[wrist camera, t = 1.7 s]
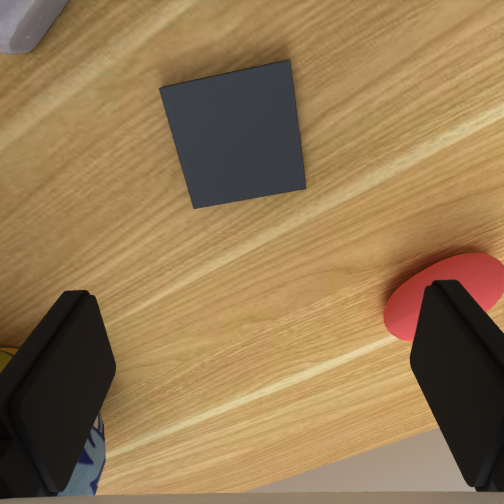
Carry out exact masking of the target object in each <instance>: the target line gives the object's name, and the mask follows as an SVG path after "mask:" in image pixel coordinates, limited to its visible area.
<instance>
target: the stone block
mask: <svg viewBox="0 0 504 504" xmlns="http://www.w3.org/2000/svg"><path fill="white" fill-rule="evenodd" d="M68 1H69V0H0V52H2V53H5V54H8V55H12V54H16V53H26V52H30V51H31V50H33V49H34V48H35V46H36V45H37V44H38V42H39V41H40V40H41V39H42V38H43V36H44V35H45V33H46V32H47V31H48V29H49V28H50V26H51V25H52V23H53V22H54V21H55V19H56V18H57V16H58V15H59V14H60V12H61V11H62V9H63V8H64V7H65V5H66V4H67V2H68Z"/></svg>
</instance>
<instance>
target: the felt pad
mask: <svg viewBox="0 0 504 504" xmlns="http://www.w3.org/2000/svg"><path fill="white" fill-rule="evenodd" d="M159 90H160V94H161V97H162V101H163V104H164V107H165V111H166V114H167V118H168V121H169V125H170V128H171V132H172V135H173V139H174V142H175V146H176V149H177V153H178V156H179V159H180V163H181V166H182V170H183V173H184V177H185V180H186V184H187V187H188V191H189V194H190V198H191V201H192V205H193V208H194V209H197V208H202V207H208V206H213V205H219V204H225V203H230V202H236V201H241V200H247V199H252V198H258V197H264V196H269V195H275V194H280V193H286V192H291V191H297V190H303V189H306V180H305V172H304V165H303V157H302V149H301V141H300V133H299V126H298V118H297V110H296V102H295V94H294V87H293V79H292V71H291V63H290V60H284V61H279V62H275V63H270V64H265V65H261V66H256V67H251V68H247V69H242V70H237V71H233V72H228V73H223V74H219V75H214V76H209V77H205V78H200V79H196V80H191V81H186V82H182V83H177V84H172V85H168V86H163V87H161V88H159Z"/></svg>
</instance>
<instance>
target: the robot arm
mask: <svg viewBox="0 0 504 504" xmlns="http://www.w3.org/2000/svg"><path fill="white" fill-rule="evenodd" d="M410 365H411V369H412V371H413V373H414V375H415V377H416V379H417V381H418V383H419V386H420V388H421V390H422V392H423V394H424V396H425V398H426V400H427V402H428V404H429V406H430V409H431V411H432V413H433V415H434V417H435V419H436V421H437V423H438V425H439V427H440V430H441V432H442V434H443V436H444V438H445V440H446V442H447V444H448V446H449V448H450V450H451V453H452V454H453V457H454V459H455V461H456V463H457V465H458V467H459V469H460V471H461V473H462V476H463V478H464V480H465V481H466V483H467V484H468V485H469V486H470V487H475V489H476V491H477V492H441V491H440V492H439V491H438V492H437V491H426V492H303V493H302V492H299V493H298V492H295V493H213V494H151V495H96V496H62V497H57V495H58V493H59V492H63V491H64V490H65V489H66V487H67V485H68V483H69V481H70V478H71V476H72V474H73V471H74V469H75V467H76V464H77V462H78V460H79V457H80V455H81V453H82V450H83V448H84V446H85V443H86V441H87V439H88V436H89V434H90V432H91V429H92V427H93V425H94V423H95V420H96V418H97V416H98V413H99V411H100V409H101V406H102V404H103V402H104V399H105V397H106V395H107V392H108V390H109V388H110V385H111V383H112V381H113V378H114V376H115V372H116V363H115V360H114V356H113V353H112V350H111V346H110V343H109V340H108V336H107V333H106V330H105V326H104V323H103V320H102V316H101V313H100V310H99V306H98V303H97V300H96V297H95V296H94V295H90V293H89V292H88V291H86V290H72V291H64V292H63V293H62V294H61V296H60V297H59V298H58V300H57V301H56V302H55V303H54V305H53V306H52V307H51V309H50V310H49V311H48V312H47V314H46V315H45V316H44V318H43V319H42V320H41V321H40V323H39V324H38V325H37V326H36V328H35V329H34V330H33V332H32V333H31V334H30V335H29V337H28V338H27V339H26V341H25V342H24V343H23V344H22V346H21V347H20V348H19V349H18V351H17V352H16V353H15V355H14V356H13V357H12V358H11V360H10V361H9V362H8V364H7V365H6V366H5V367H4V369H3V370H2V371H1V373H0V504H504V333H503V332H502V331H501V330H500V329H499V327H498V326H497V325H496V324H495V323H494V322H493V320H492V319H491V318H490V317H489V316H488V315H487V313H486V312H485V311H484V310H483V309H482V308H481V306H480V305H479V304H478V303H477V302H476V301H475V299H474V298H473V297H472V296H471V295H470V294H469V292H468V291H467V290H466V289H465V288H464V287H463V285H462V284H461V283H460V282H459V281H458V280H455V279H450V280H434V281H433V282H432V283H431V285H428V286H426V287H425V290H424V295H423V299H422V304H421V308H420V313H419V317H418V322H417V326H416V331H415V336H414V340H413V345H412V349H411V354H410Z"/></svg>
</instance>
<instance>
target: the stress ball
mask: <svg viewBox="0 0 504 504" xmlns="http://www.w3.org/2000/svg"><path fill="white" fill-rule="evenodd" d="M450 279H455V280H458V281H459V282H460V283H461V284H462V285H463V287H464V288H465V289H466V290H467V291H468V292H469V294H470V295H471V296H472V297H473V298H474V299H475V301H476V302H477V303H478V304H479V305H480V306H481V308H482V309H483V310H484V311H485V312H487V311H488V310H490V309H491V308H492V307H493V306H494V305H495V304H496V302H497V301H498V300H499V299H500V298H501V296H502V295H503V293H504V265H503V264H502V263H501V262H500V261H499V260H497V259H496V258H494V257H492V256H490V255H487V254H483V253H466V254H460V255H455V256H452V257H449V258H446V259H444V260H441V261H439V262H437V263H435V264H433V265H431V266H430V267H428V268H426V269H424V270H423V271H421V272H419V273H418V274H416V275H415V276H413V277H411V278H410V279H409V280H407V281H406V282H404V283H403V284H402V285H401V286H400V287H399V288H398V289H397V290H396V291H395V292H394V293H393V294H392V296H391V297H390V298H389V300H388V302H387V304H386V307H385V309H384V323H385V326H386V328H387V329H388V331H389V332H390V333H391V334H392V335H394V336H396V337H397V338H399V339H401V340H405V341H413V340H414V336H415V331H416V326H417V322H418V317H419V313H420V308H421V304H422V299H423V295H424V290H425V287H426V286H428V285H431V283H432V282H433V281H434V280H450Z"/></svg>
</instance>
